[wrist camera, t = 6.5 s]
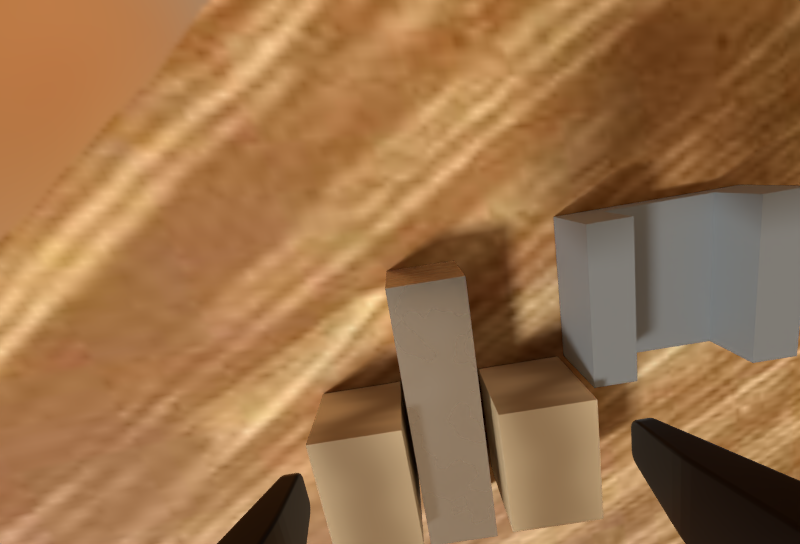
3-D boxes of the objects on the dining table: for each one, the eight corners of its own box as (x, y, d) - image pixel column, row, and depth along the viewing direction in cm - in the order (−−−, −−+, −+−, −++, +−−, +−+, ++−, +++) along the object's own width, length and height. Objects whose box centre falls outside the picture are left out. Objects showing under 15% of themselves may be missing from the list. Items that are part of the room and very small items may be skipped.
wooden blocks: (557, 356, 19) (597, 399, 15) (565, 456, 20) (603, 519, 16) (323, 394, 19) (305, 445, 15) (347, 489, 20) (336, 558, 17)
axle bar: (386, 269, 18) (385, 288, 15) (452, 259, 18) (465, 275, 15) (425, 491, 21) (431, 545, 18) (482, 483, 21) (497, 536, 18)
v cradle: (740, 184, 17) (812, 185, 14) (733, 328, 18) (796, 355, 16) (553, 216, 17) (586, 224, 14) (563, 355, 19) (594, 387, 16)
